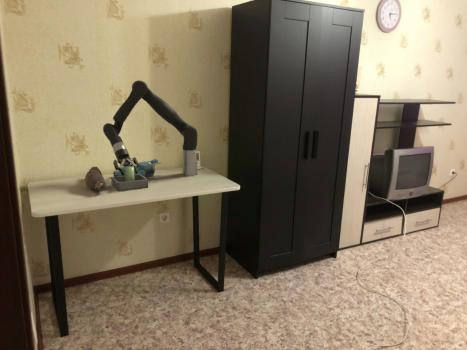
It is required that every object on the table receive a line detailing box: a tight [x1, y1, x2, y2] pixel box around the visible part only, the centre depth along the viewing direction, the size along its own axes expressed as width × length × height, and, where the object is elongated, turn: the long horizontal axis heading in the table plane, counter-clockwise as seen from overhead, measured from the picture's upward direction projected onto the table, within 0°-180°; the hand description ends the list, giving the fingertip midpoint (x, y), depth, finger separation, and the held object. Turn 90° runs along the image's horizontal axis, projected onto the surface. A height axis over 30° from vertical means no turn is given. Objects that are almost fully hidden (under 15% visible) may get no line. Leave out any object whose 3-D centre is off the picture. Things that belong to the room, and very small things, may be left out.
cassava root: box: [84, 166, 107, 191], centre depth 220 cm, size 41×11×10 cm
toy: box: [112, 158, 162, 178], centre depth 246 cm, size 22×9×30 cm
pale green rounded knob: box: [125, 166, 134, 182], centre depth 221 cm, size 5×5×11 cm
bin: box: [111, 174, 149, 192], centre depth 222 cm, size 17×14×5 cm
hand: (130, 173), depth 220 cm, fingers open, 8 cm apart
